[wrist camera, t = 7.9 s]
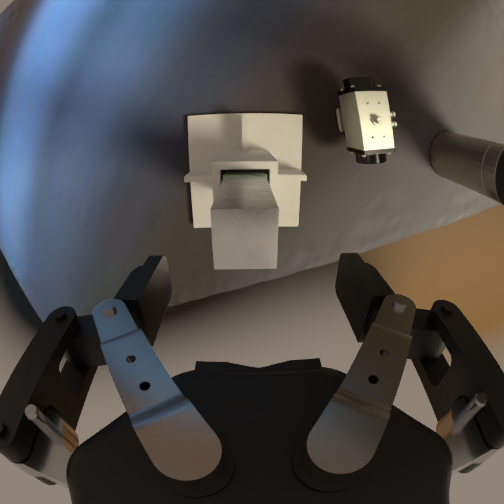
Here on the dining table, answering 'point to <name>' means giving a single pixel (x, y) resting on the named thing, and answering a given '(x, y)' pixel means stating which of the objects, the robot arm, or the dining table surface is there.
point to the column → (245, 221)
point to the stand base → (245, 158)
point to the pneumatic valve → (366, 120)
